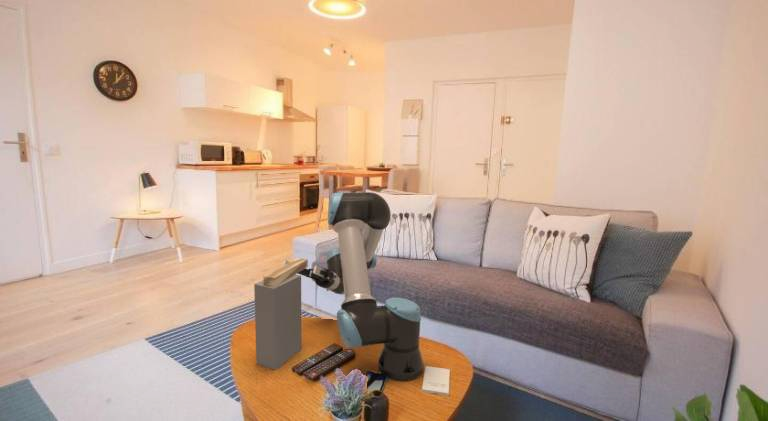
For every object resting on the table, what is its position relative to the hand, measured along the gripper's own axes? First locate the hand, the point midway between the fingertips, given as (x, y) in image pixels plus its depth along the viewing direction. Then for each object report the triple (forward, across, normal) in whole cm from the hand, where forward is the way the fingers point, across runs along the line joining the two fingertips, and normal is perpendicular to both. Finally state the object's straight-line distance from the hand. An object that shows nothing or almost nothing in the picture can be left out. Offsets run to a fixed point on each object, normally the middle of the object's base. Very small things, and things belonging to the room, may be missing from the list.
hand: (299, 266), depth 136 cm
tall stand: (-5, 0, -31) cm, 32 cm away
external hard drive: (-15, -53, -26) cm, 61 cm away
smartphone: (-4, -36, -32) cm, 49 cm away
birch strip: (+5, 0, -5) cm, 7 cm away
